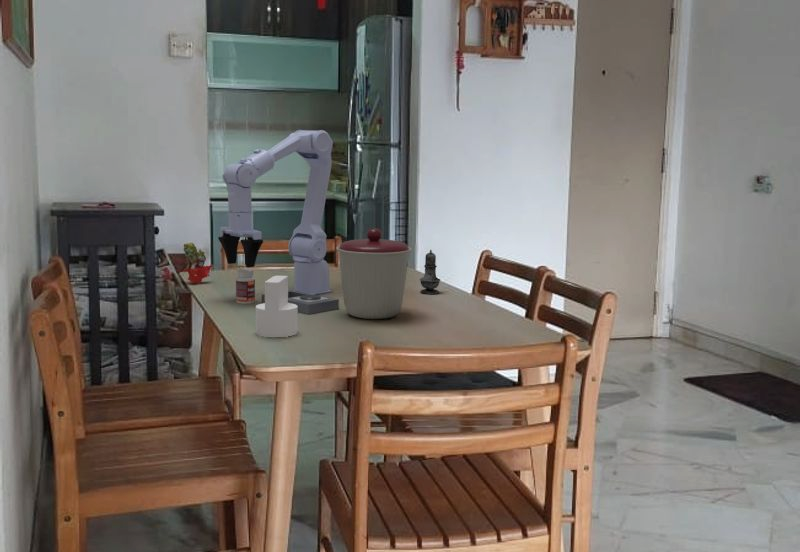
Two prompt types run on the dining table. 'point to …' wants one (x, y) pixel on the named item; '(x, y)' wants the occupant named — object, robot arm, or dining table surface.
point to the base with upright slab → (276, 310)
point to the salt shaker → (430, 275)
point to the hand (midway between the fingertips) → (241, 265)
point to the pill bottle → (245, 286)
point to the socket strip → (310, 302)
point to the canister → (373, 275)
